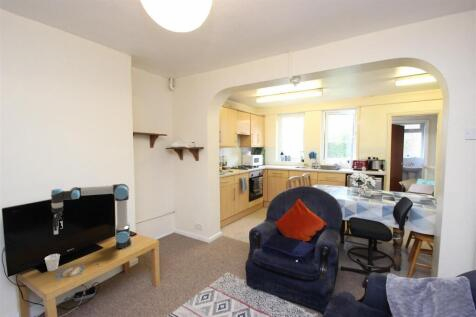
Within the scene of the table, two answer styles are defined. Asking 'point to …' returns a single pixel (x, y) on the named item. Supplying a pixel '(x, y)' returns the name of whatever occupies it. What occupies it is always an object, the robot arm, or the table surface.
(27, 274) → the table surface
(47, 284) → the table surface
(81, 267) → the placemat
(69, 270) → the coaster
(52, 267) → the cup
